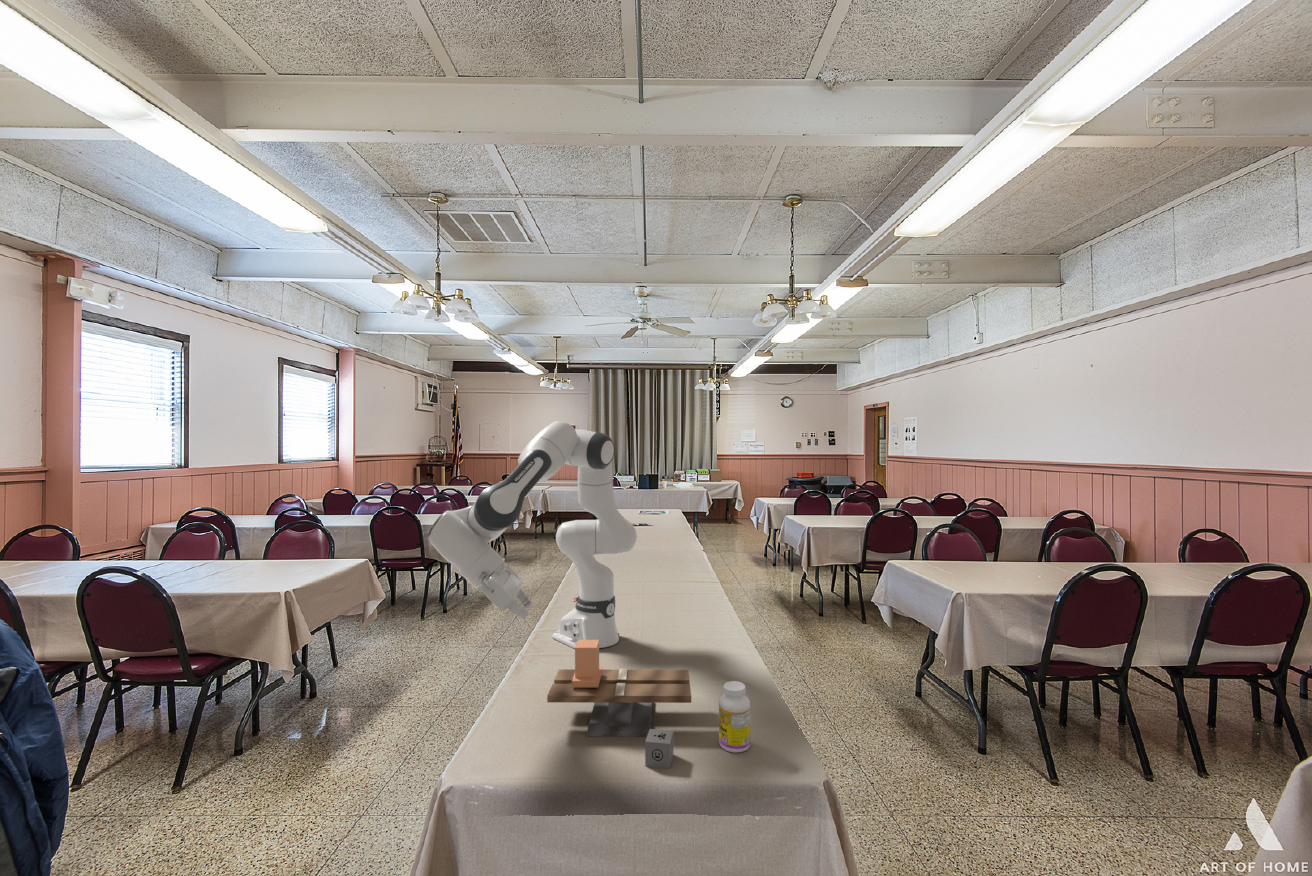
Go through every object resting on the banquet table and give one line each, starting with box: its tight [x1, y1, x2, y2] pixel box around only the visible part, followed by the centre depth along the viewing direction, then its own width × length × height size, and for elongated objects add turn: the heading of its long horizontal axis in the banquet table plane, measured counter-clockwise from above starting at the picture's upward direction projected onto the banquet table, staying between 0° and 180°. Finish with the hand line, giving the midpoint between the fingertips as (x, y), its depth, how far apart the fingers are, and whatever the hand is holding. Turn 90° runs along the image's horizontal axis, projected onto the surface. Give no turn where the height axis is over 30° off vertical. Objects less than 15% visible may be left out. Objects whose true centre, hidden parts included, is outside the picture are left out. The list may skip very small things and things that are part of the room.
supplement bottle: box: [718, 680, 751, 754], centre depth 121 cm, size 7×7×13 cm
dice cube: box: [644, 728, 675, 769], centre depth 115 cm, size 5×5×5 cm
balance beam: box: [546, 668, 692, 738], centre depth 132 cm, size 32×16×9 cm, turn 89°
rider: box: [572, 640, 603, 687], centre depth 132 cm, size 6×8×10 cm
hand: (528, 610), depth 132 cm, fingers open, 8 cm apart
